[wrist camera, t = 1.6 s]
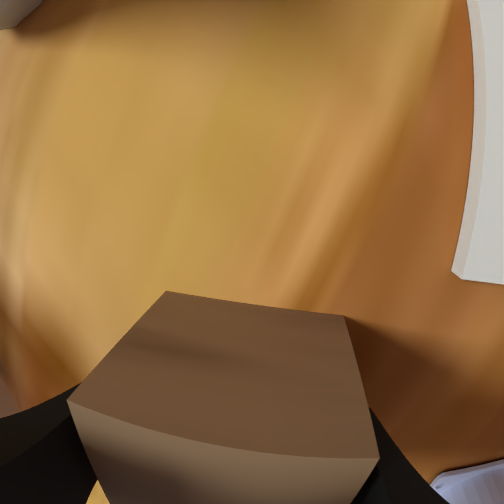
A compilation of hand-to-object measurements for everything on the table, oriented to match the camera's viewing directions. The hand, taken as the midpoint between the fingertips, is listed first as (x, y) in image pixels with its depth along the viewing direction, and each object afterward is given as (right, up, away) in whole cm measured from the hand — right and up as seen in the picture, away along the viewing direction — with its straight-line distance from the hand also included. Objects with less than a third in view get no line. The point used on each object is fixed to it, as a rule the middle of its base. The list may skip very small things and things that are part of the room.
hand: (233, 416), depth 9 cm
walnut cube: (0, +1, +2) cm, 2 cm away
